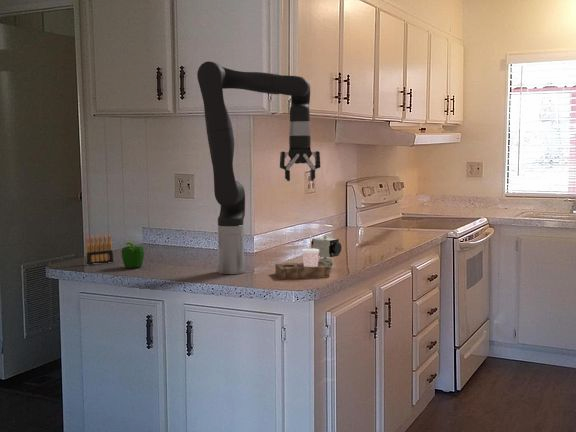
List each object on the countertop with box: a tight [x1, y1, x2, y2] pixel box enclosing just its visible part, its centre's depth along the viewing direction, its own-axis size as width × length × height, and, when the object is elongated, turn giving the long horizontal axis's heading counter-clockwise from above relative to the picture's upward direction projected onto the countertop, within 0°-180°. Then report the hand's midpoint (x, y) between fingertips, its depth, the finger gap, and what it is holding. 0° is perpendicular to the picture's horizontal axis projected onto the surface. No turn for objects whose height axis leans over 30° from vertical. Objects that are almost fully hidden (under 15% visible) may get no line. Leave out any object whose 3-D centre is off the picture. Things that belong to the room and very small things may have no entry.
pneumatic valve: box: [311, 235, 342, 269], centre depth 261 cm, size 6×12×12 cm, turn 51°
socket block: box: [274, 262, 330, 280], centre depth 247 cm, size 17×11×4 cm, turn 102°
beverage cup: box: [301, 235, 319, 267], centre depth 247 cm, size 6×6×14 cm
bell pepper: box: [121, 241, 145, 269], centre depth 266 cm, size 8×8×10 cm
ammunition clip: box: [85, 232, 114, 264], centre depth 275 cm, size 11×2×12 cm, turn 125°
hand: (300, 180), depth 248 cm, fingers open, 8 cm apart
